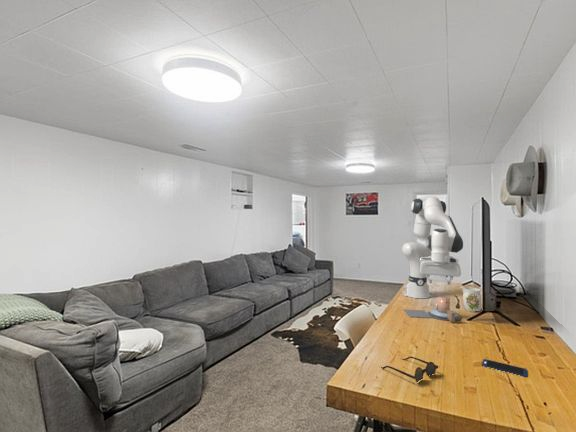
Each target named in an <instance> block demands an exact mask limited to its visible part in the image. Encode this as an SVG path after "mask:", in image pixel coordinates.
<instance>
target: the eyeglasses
mask: <svg viewBox="0 0 576 432" xmlns="http://www.w3.org/2000/svg"><path fill="white" fill-rule="evenodd" d="M401 359H402V360H403V361H407V360H409V359H413V360H416V361H419V362H421V363H424V364H426V366H425V368H422V367H420V366H417V367H416V368H415V371H414V375H412V374H410V373H407V372H405V371H403V370H400V369H399V368H395V367H393V366H390V365H384V366H383V367H382V366H380V367H381V368H382V369H381V368H380V369H381V370H384V369H387V368H389V369H390V370H394V371H396V372H398V373H400V374H402V375H405V376H406V377H409V378H410V379H413V380H414V381H415V382H416V383H417V382H418V381H419V380H421V379H423V380H424V374H426V376H427V377H428V376H429V375H432V374H434V375H436V371H437V369H439V366H438V365H437V364H435V363H434V361H429V362H428V361H425V360H423V359H420V358H418V357H415V356H407V357H406V358H401Z"/></svg>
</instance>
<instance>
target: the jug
mask: <svg viewBox="0 0 576 432" xmlns="http://www.w3.org/2000/svg"><path fill="white" fill-rule="evenodd" d="M436 303H438V312H440V313H444V314H447V310H451V298H450V297H446V296H438V297H437V301H436Z"/></svg>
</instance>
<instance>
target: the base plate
mask: <svg viewBox="0 0 576 432" xmlns="http://www.w3.org/2000/svg"><path fill="white" fill-rule="evenodd" d="M427 313H428V315H429V316H431V317H432V318H431V319H435V320H439V321H447V322H451V321H450V320H449V319H447V318H441V317H437V316H434V315H432V314H431V313H430V311H427ZM461 318H462V317H461V316H460V315H458V317H457V318H455V322H457V321H461Z"/></svg>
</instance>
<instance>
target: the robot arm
mask: <svg viewBox="0 0 576 432" xmlns="http://www.w3.org/2000/svg"><path fill="white" fill-rule="evenodd" d="M410 210H411V212H412V214H416V215H415V219H414V224H413V230H412V233H413V235H414V236H416V241H409V242H405V243H404V244H402V246H401V251H402V254H403V256H404V257H405V258H406V259H407V261H408V264H409V275H408V282H407V283H406V284H405V285H404V286H403V290H402V293H403V296H404V297H409V298H413V299H429V298H432V295H431V294H430V285H429V284H432V283H433V279H430V276H440V277H449V278H450V279H449V280H447V285H452V281H453V279H454V277H460V276H461V275H462V273H461V266H460V264H459V259H458V258H456V257H453V256H451V255H450V253H460V252H461V251H462V250H463V248H464V241H463V238H462V236H461V235H460V234H459V231H458V230H457V227H456V225H455V223H454V221H453V219H452V217H451V216H450V215H448V214H447V213H446V212H447V204H446V202H445V201H443V200H440V199H439V198H438V197H436V196H429V197H428V198H414V199H413V200H412V202H411V204H410ZM432 225H433V226H437V227H441V228H434V229H432V232H431V228H432Z"/></svg>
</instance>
